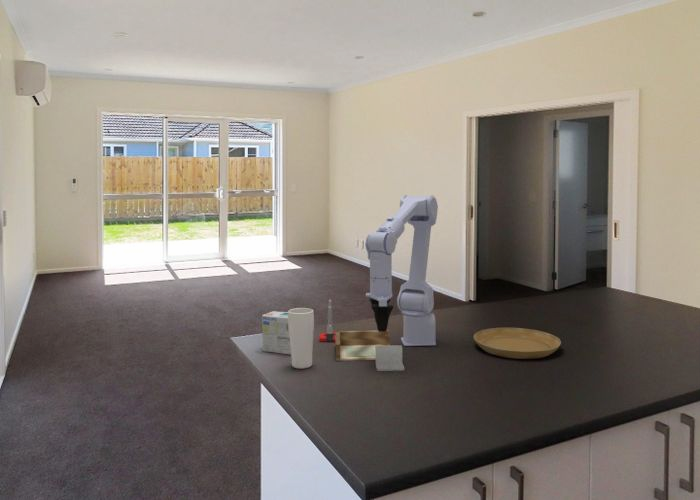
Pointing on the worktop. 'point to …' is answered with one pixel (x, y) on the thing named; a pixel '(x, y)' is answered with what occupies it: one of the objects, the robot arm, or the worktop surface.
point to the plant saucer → (517, 342)
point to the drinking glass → (301, 336)
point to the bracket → (389, 358)
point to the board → (357, 352)
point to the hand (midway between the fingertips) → (381, 327)
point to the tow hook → (328, 328)
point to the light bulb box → (276, 332)
